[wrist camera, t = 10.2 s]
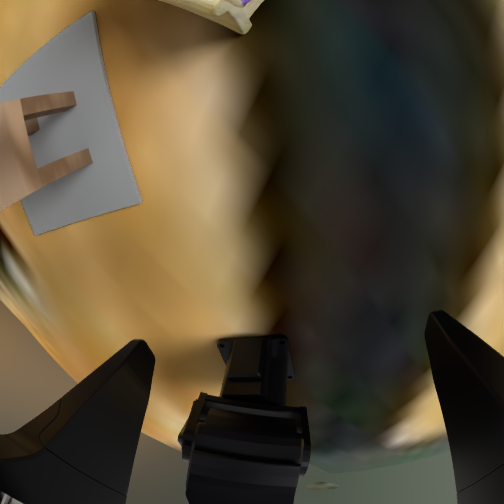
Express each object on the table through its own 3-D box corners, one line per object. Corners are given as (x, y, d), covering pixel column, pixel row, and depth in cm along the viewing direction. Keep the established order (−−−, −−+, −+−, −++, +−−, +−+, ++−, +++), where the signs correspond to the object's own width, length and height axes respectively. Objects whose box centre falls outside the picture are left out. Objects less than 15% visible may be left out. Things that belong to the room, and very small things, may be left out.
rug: (142, 201, 19) (140, 203, 19) (37, 234, 22) (35, 235, 22) (94, 11, 12) (91, 10, 12) (-4, 93, 15) (-6, 93, 14)
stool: (92, 162, 18) (26, 195, 12) (47, 184, 19) (-11, 218, 13) (73, 91, 15) (2, 102, 9) (29, 122, 16) (-33, 143, 10)
